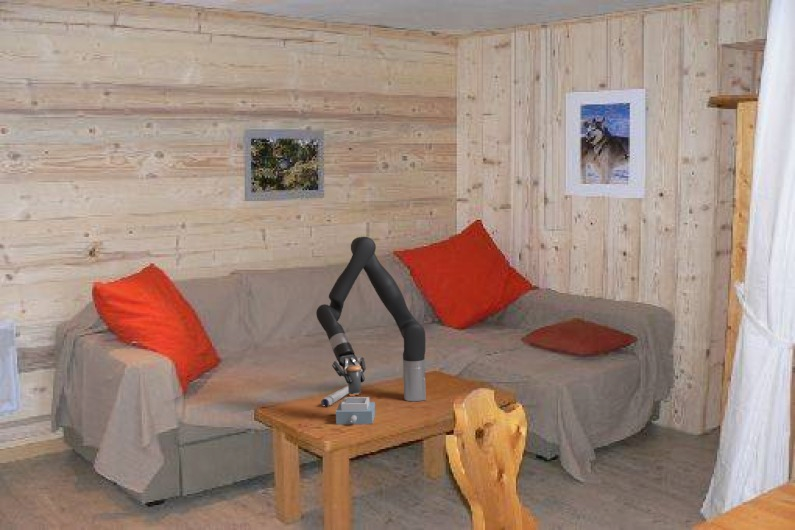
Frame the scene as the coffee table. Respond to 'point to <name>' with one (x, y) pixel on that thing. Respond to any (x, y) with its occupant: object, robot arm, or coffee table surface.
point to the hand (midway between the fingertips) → (356, 382)
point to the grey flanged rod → (335, 396)
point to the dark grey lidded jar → (354, 378)
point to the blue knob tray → (355, 411)
